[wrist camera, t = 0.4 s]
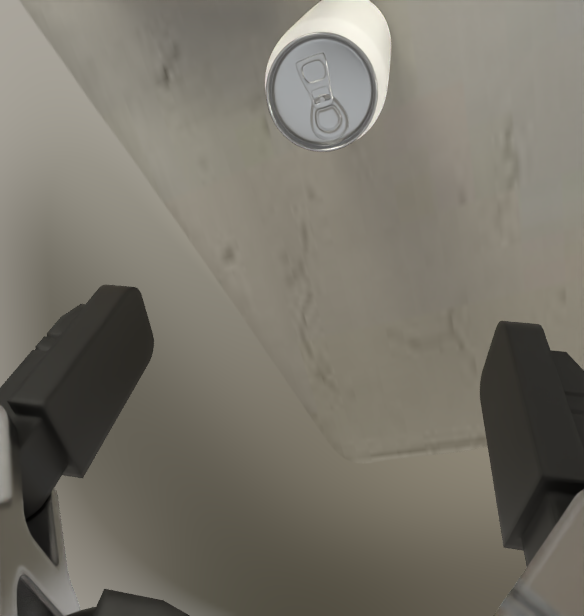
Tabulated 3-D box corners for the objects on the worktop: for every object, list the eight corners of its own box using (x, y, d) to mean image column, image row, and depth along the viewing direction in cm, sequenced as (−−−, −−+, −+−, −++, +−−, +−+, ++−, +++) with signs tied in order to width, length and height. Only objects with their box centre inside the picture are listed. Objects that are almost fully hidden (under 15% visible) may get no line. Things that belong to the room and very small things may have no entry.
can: (314, 109, 36) (284, 173, 27) (284, 14, 32) (236, 50, 23) (401, 80, 34) (400, 139, 24) (378, -25, 30) (367, -3, 21)
